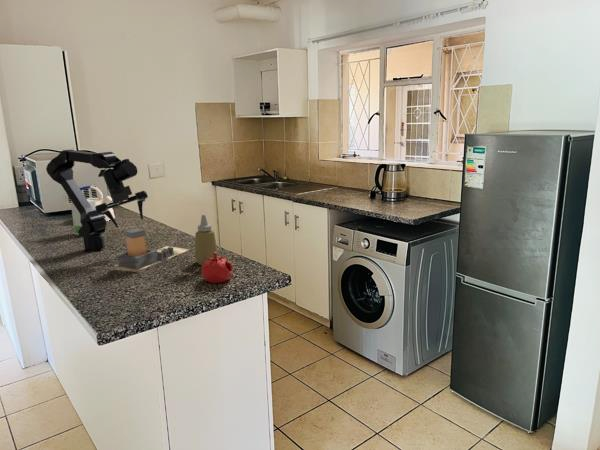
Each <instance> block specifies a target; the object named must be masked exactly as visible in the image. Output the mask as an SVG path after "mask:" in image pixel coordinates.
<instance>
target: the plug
mask: <svg viewBox="0 0 600 450" xmlns="http://www.w3.org/2000/svg"><path fill="white" fill-rule="evenodd" d="M124 236H125V238H126V239H125V240H126V246H127V247H126V248H127V251H128V256H135V257H138V256H141V255H143V254H146V253H147V252H146V249H147V244H146V243H147V242H146V230H145V229H142V228H138V227H137V228H131V229H127V230H124Z"/></svg>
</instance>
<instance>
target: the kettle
mask: <svg viewBox="0 0 600 450" xmlns="http://www.w3.org/2000/svg"><path fill="white" fill-rule="evenodd" d="M79 188H80V190H81V191H83V190H87V189H89V190H90V189H93V190H94V191H96V192H97V193H98V197H88V198H86V199H89V200H95V207H96V206H97V205H100V204H103V203H106V205H107V204H110V203H112V202H113V201H112V198H111V195H110V196H109V195H106V197H105V198H104V195H103V193H102V190H100V188H98V187H96V186H94V185H86V186H82V187H79ZM108 211H110V212H111V214H112V216H113V218H115V219H116V216H115V212H114V209H113V208H110V209H109V210H108ZM104 216H105V219H106V221H108V222H110V221H109V220H111V219H110V218H108V217H107V216H106V215H104Z"/></svg>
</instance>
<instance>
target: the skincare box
mask: <svg viewBox="0 0 600 450" xmlns="http://www.w3.org/2000/svg"><path fill="white" fill-rule="evenodd" d="M86 199H87V198H86ZM87 201H88V202H89V204H90V205H91V207H92V208H93V209H95V200H89V199H87ZM70 204H71V205H70V206H71V215H72V224H73V232H74V233H73V234H74V235H76V236H77V235H79V234H78V231H79V229H80V228H81V226H82V224H81V222H80V213H79V211H78V210H77V208H76V207H75V205H74V204H73V202H72V201H71V200H70ZM95 210H96V209H95Z"/></svg>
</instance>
